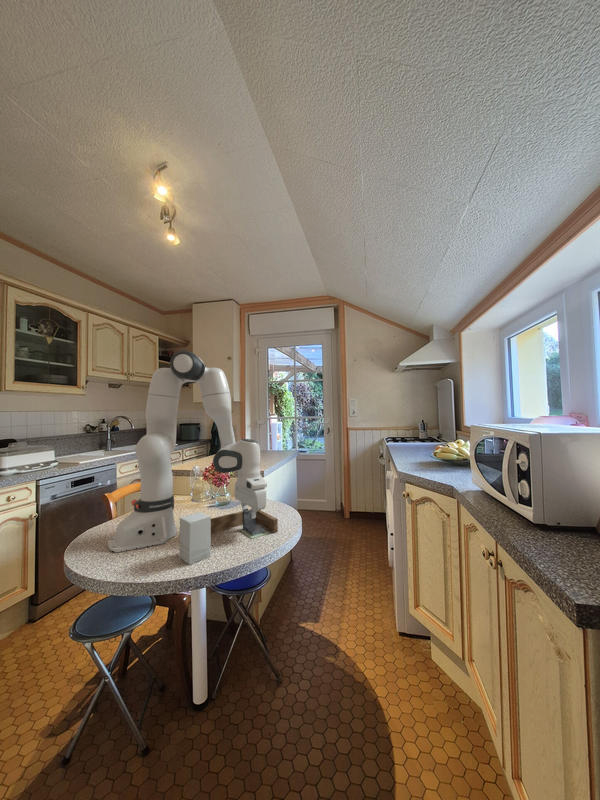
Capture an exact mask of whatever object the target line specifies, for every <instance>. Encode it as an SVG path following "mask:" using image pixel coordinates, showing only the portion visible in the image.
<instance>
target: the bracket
mask: <svg viewBox="0 0 600 800" xmlns="http://www.w3.org/2000/svg"><path fill="white" fill-rule="evenodd" d="M251 512H252V510H251V508H250V510H249V509H248V510H246V511H243V525H242V529H243V530H244V531H246V532H247V533H249V534H250V535H252V536H255V535H258V534H261V533H264V531H265V528H264V527H263V526H261V525H259V524H258V523H256V518H253V519H252V518H251V517H250V513H251Z"/></svg>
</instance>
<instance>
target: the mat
mask: <svg viewBox="0 0 600 800" xmlns="http://www.w3.org/2000/svg"><path fill="white" fill-rule="evenodd" d="M239 531H240V532H241V533H243V534H244V535H246V536H247V537H248V538H250V540H251V539H252V540H253V539H257V538H260V537H263V536H266V535H269V532H268V531H266V530H264V533H261V534H258V535H255V536H252V535H250V534H249V533H247V532H246V531H244V530H243V528H239Z"/></svg>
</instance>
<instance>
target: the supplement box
mask: <svg viewBox="0 0 600 800" xmlns="http://www.w3.org/2000/svg"><path fill="white" fill-rule="evenodd" d="M211 519H212V517H211V516H209V515H207V514H206V513H204V512H201V511H199V512H195V513H191V514H188V515H183V516H181V517H179V558H180V559H181V560H183V562H185V563H186V564H187V565H192V564H195V563H197V562H198V563H199V562H201V561H203V560H205V559H207V558H208V559H209V558H210V557H211V554H212V553H211V552H212V551H211V547H212V545H211V544H212V543H211V542H212V541H211V539H212V537H211V534H212V533H211Z"/></svg>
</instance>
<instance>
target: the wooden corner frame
mask: <svg viewBox="0 0 600 800" xmlns="http://www.w3.org/2000/svg"><path fill="white" fill-rule="evenodd" d="M250 509H251V508H250ZM250 509H249V508H248V510H250ZM278 520H279V519H278V518H276V517H274V516H273V515H271V514H268V513H267V512H265V511H263V510H257V512H256V524H257V525H259V524H260V525H259V526H261V525H262V526H261V527H262V528H264V527H265V528H264V529H266V528H267V530H268V531H270V532H271V531H272V532H271V533H273V534H275V533H276V532H277V533H279V529H278V527H279V526H278V525H279V524H278ZM239 525H240V526H243V512H242V511H238V512H233V513H229V514H224V515H220V516H217V517H216V516H215V517H213V518H212V517H211V534H213V533H217V532H218V533H219V532H221V531H224V530H228V529H232V528H235V527H240V526H239Z"/></svg>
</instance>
